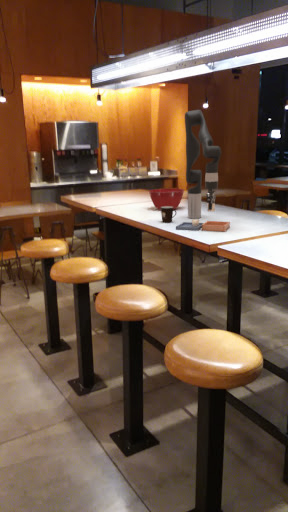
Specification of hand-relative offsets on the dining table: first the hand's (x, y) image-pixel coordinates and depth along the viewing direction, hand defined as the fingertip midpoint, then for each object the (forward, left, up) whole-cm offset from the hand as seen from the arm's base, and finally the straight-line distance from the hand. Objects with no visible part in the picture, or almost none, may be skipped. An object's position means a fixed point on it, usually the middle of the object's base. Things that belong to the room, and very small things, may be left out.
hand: (211, 208), depth 255 cm
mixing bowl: (-69, -54, -13) cm, 89 cm away
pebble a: (0, 0, -1) cm, 1 cm away
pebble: (0, -10, -12) cm, 15 cm away
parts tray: (0, -13, -12) cm, 18 cm away
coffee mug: (-14, -33, -12) cm, 38 cm away
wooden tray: (0, +3, -12) cm, 13 cm away
